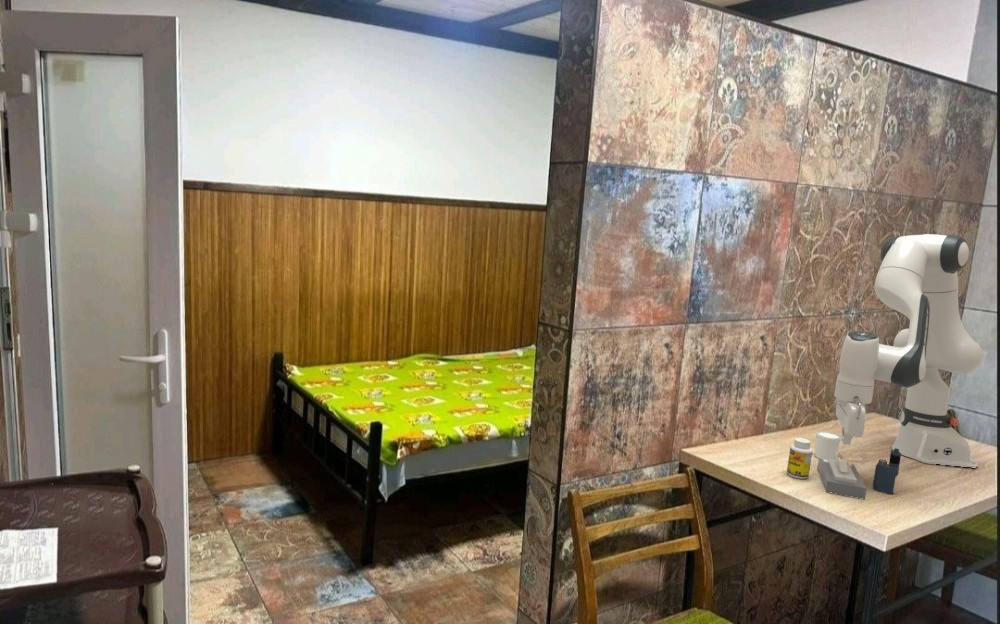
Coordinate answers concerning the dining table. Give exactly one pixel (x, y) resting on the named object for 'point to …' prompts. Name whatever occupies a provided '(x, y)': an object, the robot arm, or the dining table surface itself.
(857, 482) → the panel
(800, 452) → the supplement bottle
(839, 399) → the robot arm
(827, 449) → the white cylinder
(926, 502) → the dining table surface
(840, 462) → the double breaker paddle
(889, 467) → the vaping device
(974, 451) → the dining table surface
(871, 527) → the dining table surface
